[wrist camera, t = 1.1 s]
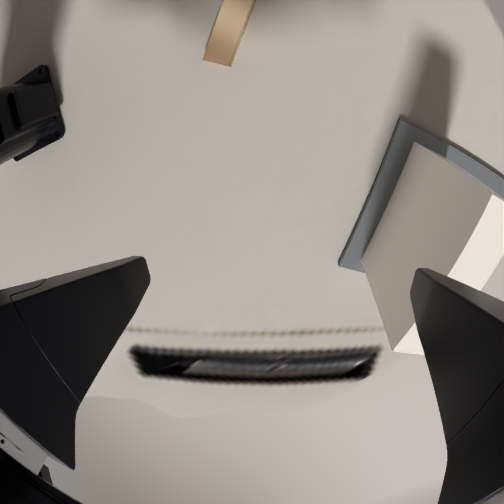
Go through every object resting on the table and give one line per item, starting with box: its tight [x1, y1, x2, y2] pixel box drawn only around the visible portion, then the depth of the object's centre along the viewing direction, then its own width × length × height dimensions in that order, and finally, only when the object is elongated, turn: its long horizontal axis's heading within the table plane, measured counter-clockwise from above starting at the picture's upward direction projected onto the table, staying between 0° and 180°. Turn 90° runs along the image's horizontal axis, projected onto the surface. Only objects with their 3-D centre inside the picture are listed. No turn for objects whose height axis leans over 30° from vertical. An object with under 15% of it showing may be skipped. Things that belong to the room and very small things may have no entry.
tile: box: [360, 142, 504, 355], centre depth 16 cm, size 3×10×9 cm, turn 166°
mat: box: [338, 119, 504, 273], centre depth 21 cm, size 15×12×1 cm
